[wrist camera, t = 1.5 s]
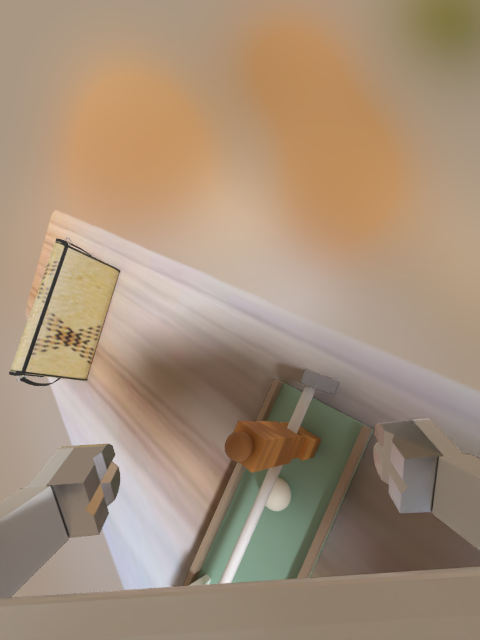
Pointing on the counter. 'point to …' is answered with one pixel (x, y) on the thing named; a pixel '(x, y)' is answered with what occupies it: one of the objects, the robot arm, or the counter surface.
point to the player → (269, 444)
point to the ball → (279, 496)
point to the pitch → (306, 495)
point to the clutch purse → (66, 316)
